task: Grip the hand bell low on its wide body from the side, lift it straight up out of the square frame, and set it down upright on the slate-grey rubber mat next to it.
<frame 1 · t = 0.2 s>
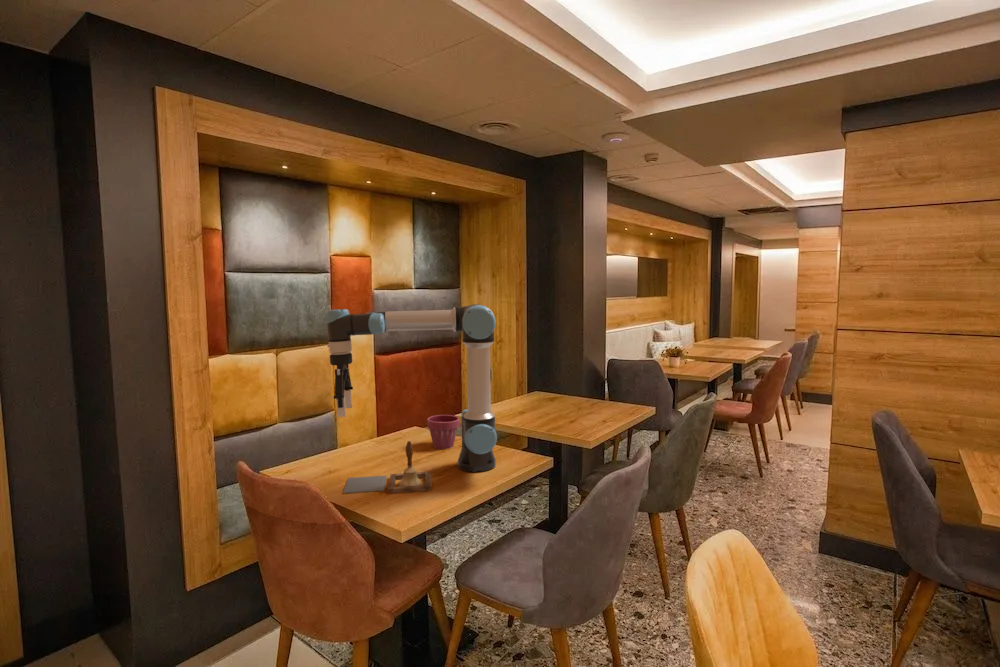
hand: (345, 412, 182), 27 cm above the table, tool pointing down, fingers open, 13 cm apart
square frame: (410, 484, 186), on the table
rubber mat: (365, 484, 185), on the table
hand bell: (410, 484, 186), resting in square frame
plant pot: (443, 446, 230), on the table
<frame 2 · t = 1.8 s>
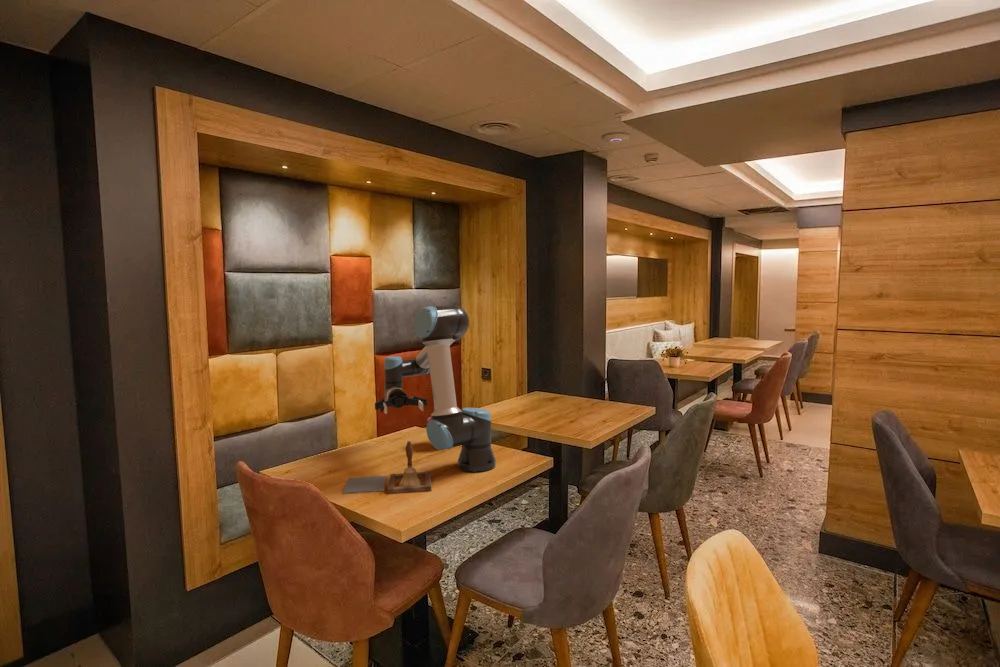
hand: (404, 408, 193), 26 cm above the table, tool horizontal, fingers open, 13 cm apart
nothing on the table moved.
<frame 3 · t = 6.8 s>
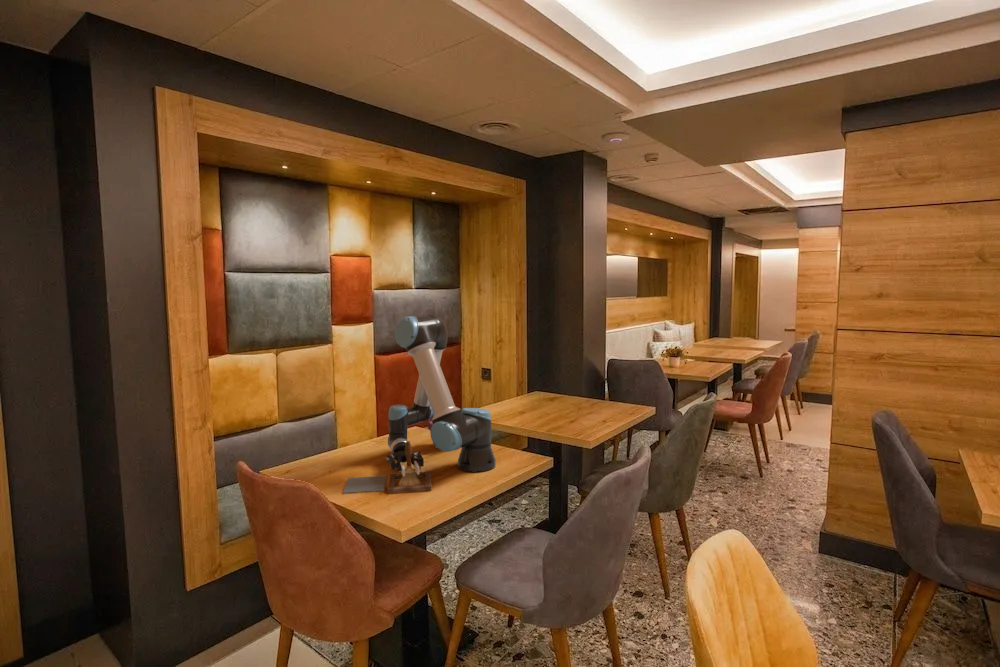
hand: (411, 471, 181), 6 cm above the table, tool horizontal, fingers closed on hand bell, 4 cm apart
hand bell: (409, 484, 186), resting in square frame, touching gripper
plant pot: (443, 444, 230), point 1 cm above the table, touching arm
when the fingers open (7 cm above the table, at t = 13.9 s): hand bell stays where it is, resting on rubber mat.
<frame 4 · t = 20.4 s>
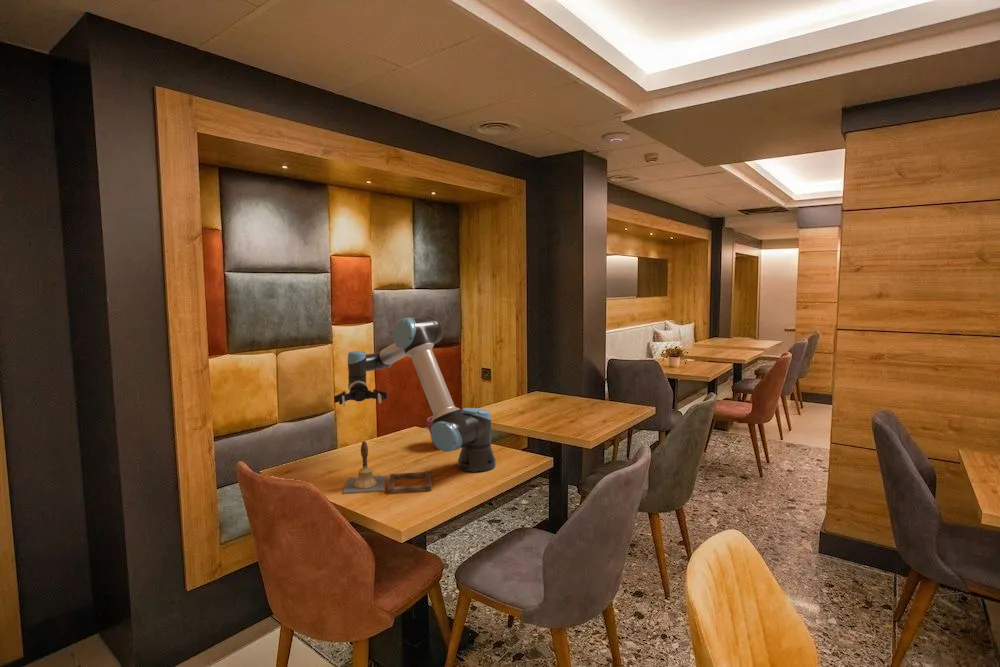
hand: (362, 401, 195), 28 cm above the table, tool horizontal, fingers open, 13 cm apart
hand bell: (365, 485, 185), resting on rubber mat
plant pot: (443, 446, 230), on the table
at the end: hand bell inside the target area on the rubber mat (0.6 cm from its centre), point 0.2 cm above the rubber mat's base; hand bell tilted 0°; hand bell moved 16.0 cm from its start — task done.
